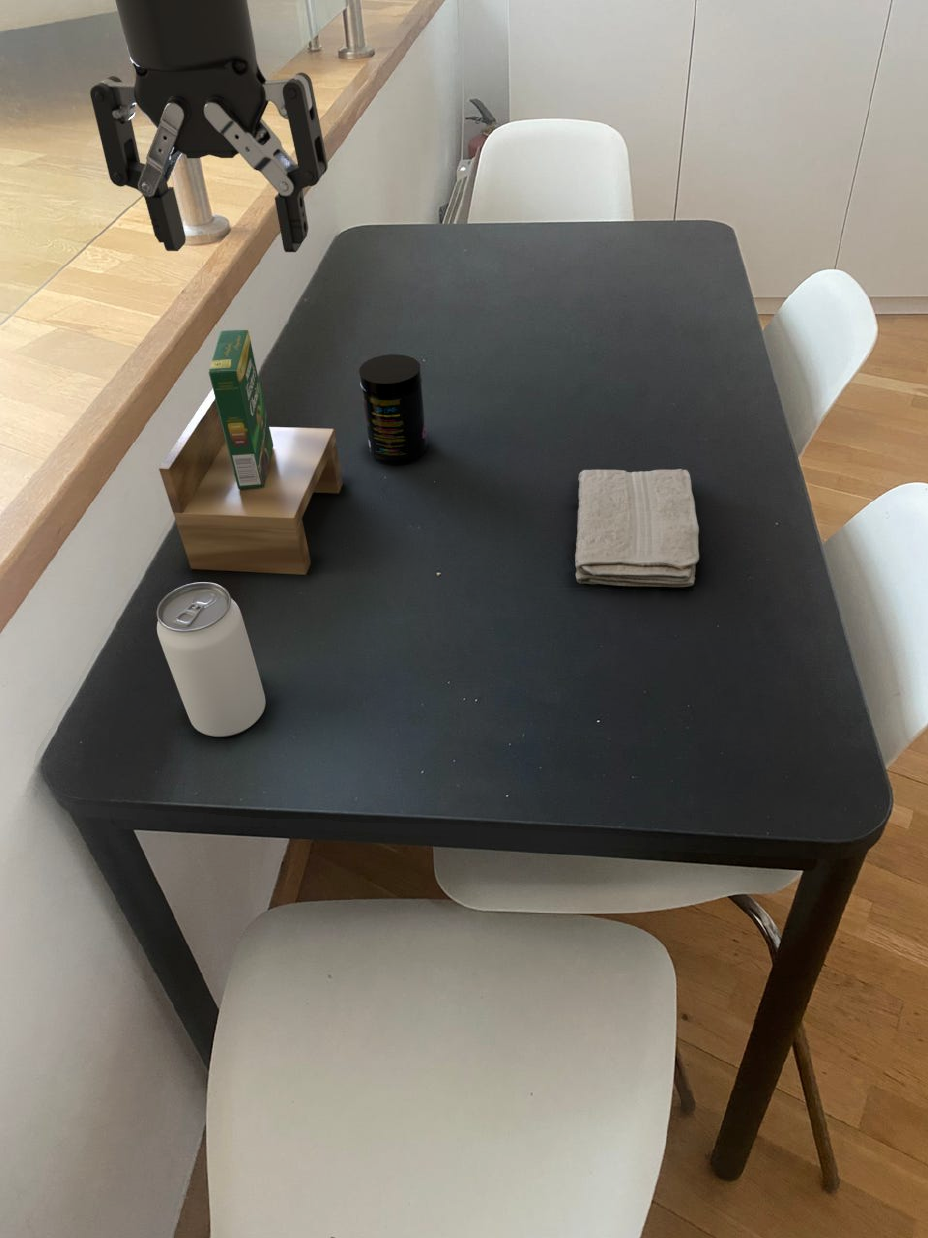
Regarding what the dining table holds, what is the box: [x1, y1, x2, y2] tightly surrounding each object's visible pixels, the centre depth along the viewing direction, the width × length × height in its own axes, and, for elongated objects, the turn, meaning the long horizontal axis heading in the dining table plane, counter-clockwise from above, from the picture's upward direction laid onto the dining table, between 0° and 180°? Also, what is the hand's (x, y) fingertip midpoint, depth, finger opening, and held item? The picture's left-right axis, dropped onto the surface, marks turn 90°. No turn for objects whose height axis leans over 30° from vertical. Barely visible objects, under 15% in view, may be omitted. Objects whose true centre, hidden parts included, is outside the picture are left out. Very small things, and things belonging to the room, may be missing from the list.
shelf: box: [158, 388, 344, 576], centre depth 94 cm, size 16×12×12 cm
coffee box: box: [208, 329, 274, 490], centre depth 88 cm, size 8×3×13 cm, turn 2°
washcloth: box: [574, 468, 700, 588], centre depth 92 cm, size 12×18×3 cm, turn 175°
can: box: [156, 581, 266, 738], centre depth 74 cm, size 6×6×12 cm
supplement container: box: [358, 353, 428, 465], centre depth 103 cm, size 7×7×10 cm
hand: (235, 247), depth 64 cm, fingers open, 8 cm apart
